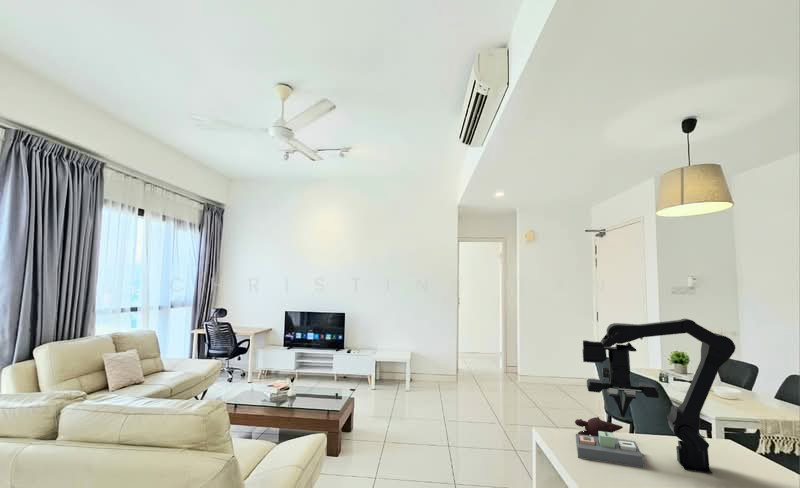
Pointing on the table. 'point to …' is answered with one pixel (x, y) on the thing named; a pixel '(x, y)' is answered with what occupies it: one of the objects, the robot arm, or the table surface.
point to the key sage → (606, 439)
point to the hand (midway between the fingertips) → (622, 416)
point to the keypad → (609, 452)
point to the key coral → (587, 440)
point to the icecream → (596, 426)
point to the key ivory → (627, 445)
